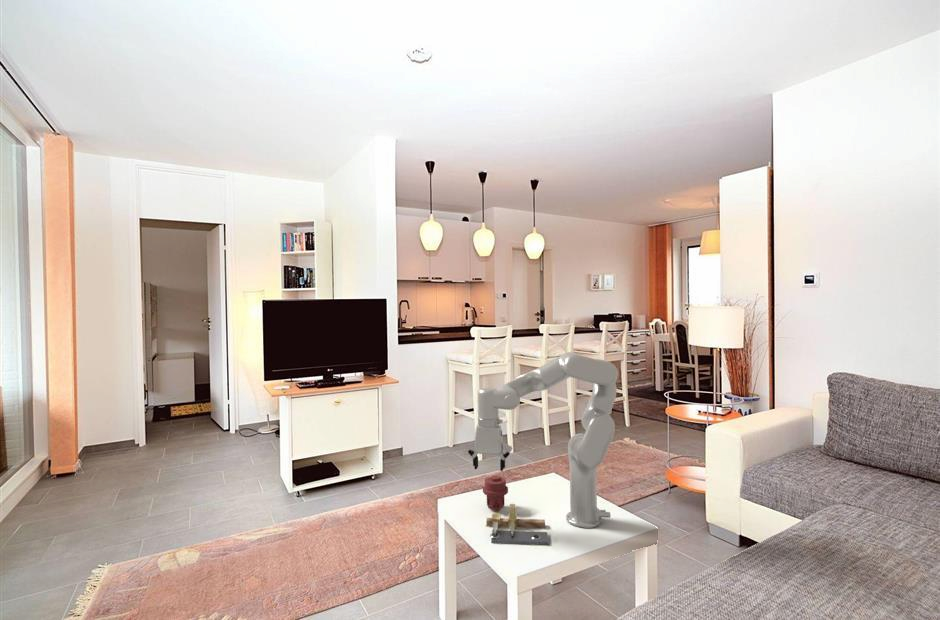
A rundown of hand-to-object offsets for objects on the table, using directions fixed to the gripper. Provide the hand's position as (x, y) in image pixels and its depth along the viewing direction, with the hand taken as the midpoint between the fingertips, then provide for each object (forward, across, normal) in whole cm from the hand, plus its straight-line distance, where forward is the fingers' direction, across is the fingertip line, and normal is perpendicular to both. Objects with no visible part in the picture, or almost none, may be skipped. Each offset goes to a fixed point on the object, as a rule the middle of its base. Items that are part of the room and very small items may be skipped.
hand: (489, 469), depth 167 cm
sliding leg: (+20, -9, +4) cm, 22 cm away
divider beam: (+20, -10, +4) cm, 23 cm away
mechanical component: (+20, 0, -13) cm, 24 cm away
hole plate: (+20, -12, +9) cm, 25 cm away
